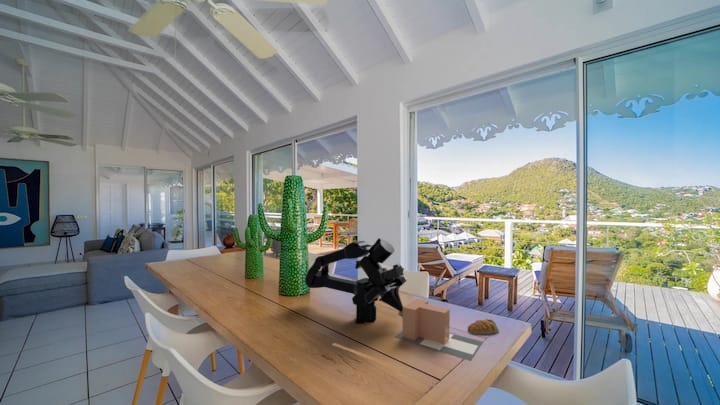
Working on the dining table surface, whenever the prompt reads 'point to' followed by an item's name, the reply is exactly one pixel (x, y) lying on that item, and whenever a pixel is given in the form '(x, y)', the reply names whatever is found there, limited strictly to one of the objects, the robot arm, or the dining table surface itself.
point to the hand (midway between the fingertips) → (402, 310)
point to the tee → (425, 321)
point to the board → (450, 345)
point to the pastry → (483, 327)
